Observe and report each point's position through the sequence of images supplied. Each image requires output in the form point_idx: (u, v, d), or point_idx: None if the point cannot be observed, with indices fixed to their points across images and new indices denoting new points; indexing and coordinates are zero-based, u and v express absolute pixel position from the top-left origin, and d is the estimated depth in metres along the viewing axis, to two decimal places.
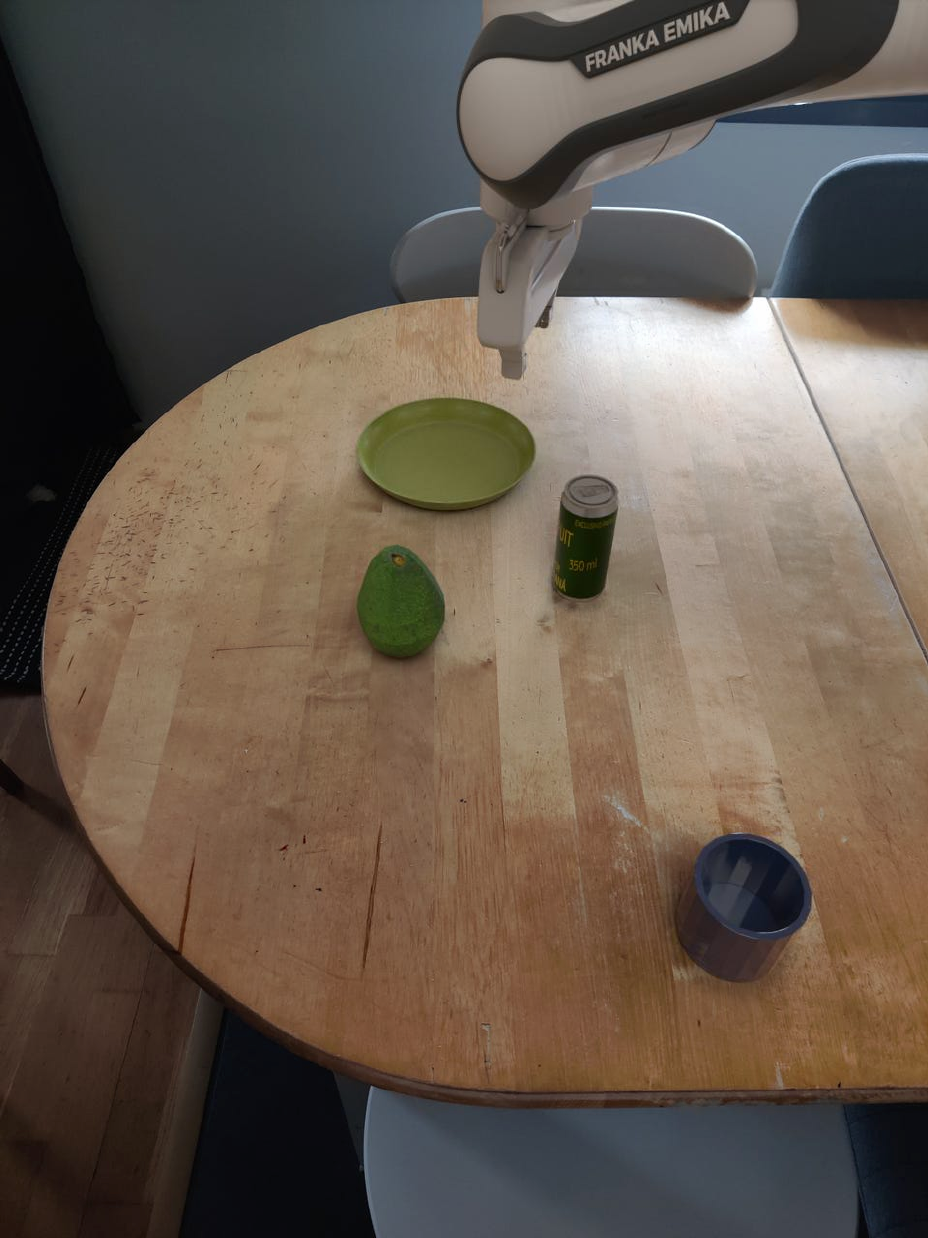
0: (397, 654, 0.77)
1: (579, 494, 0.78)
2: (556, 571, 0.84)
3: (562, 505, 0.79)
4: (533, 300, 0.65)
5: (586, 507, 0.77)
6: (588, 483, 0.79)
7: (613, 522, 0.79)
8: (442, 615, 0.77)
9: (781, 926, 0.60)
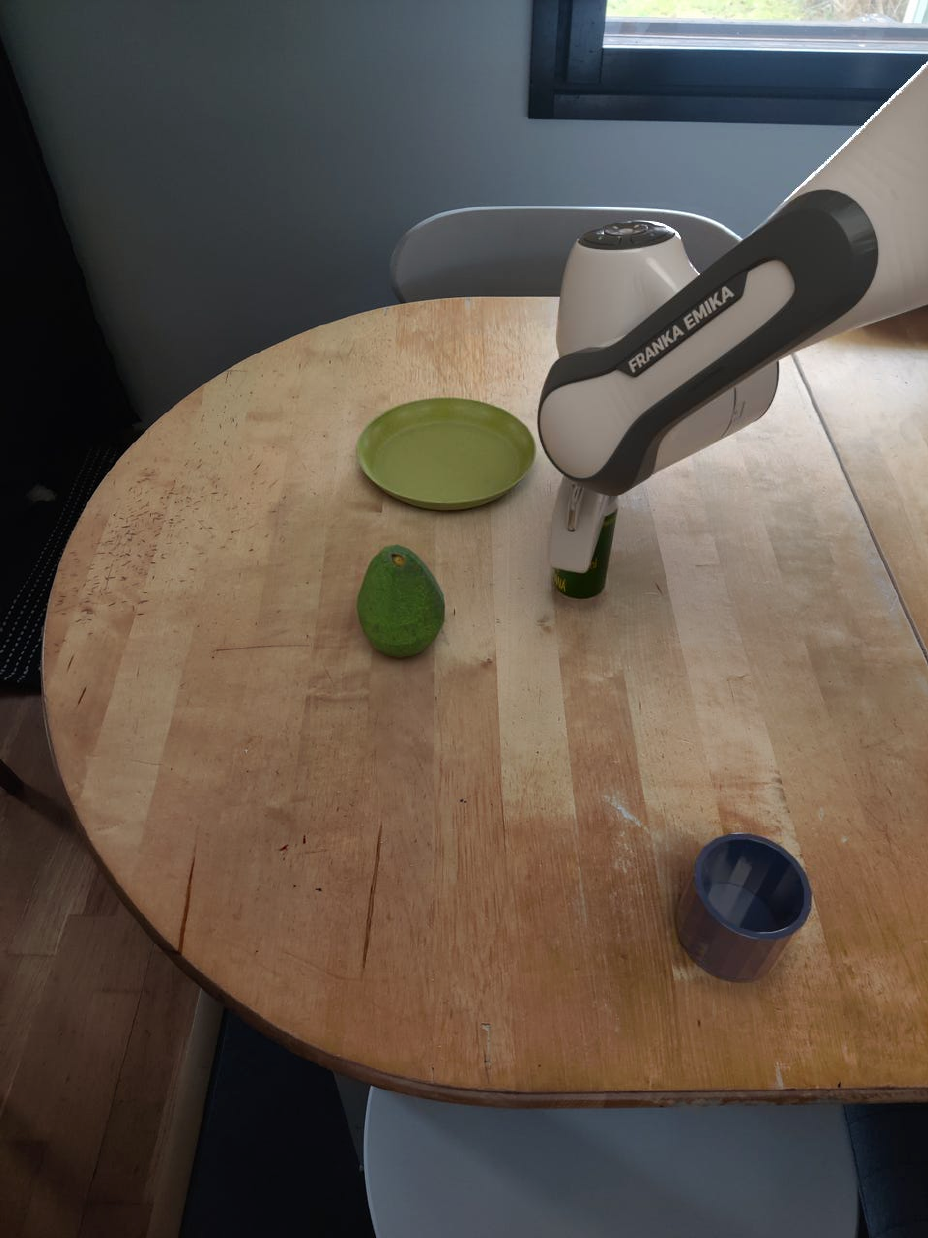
0: (397, 654, 0.77)
1: None
2: (556, 571, 0.84)
3: None
4: (597, 528, 0.73)
5: None
6: None
7: (613, 522, 0.79)
8: (442, 615, 0.77)
9: (781, 926, 0.60)
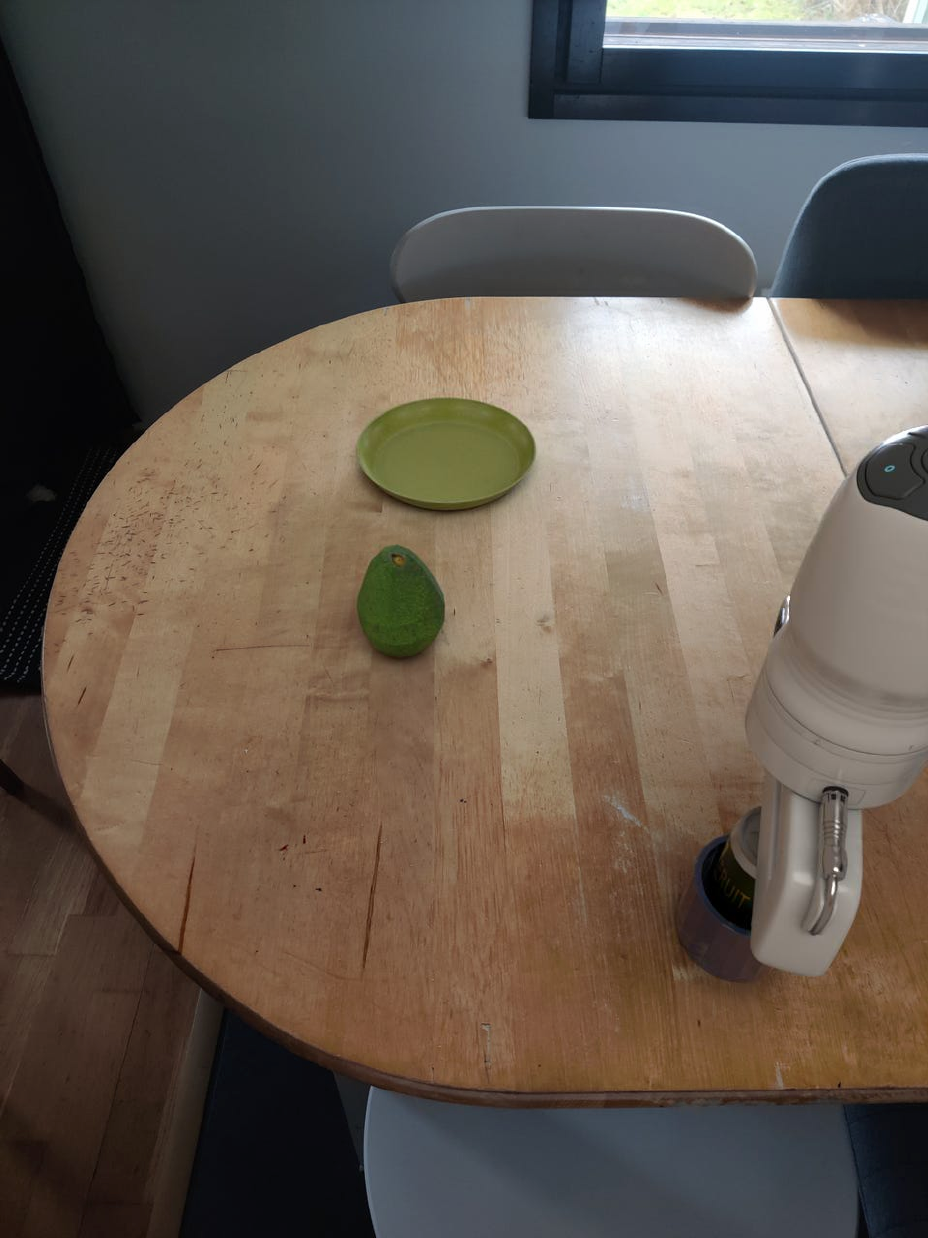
0: (397, 654, 0.77)
1: None
2: None
3: (735, 860, 0.53)
4: None
5: None
6: None
7: None
8: (442, 615, 0.77)
9: None
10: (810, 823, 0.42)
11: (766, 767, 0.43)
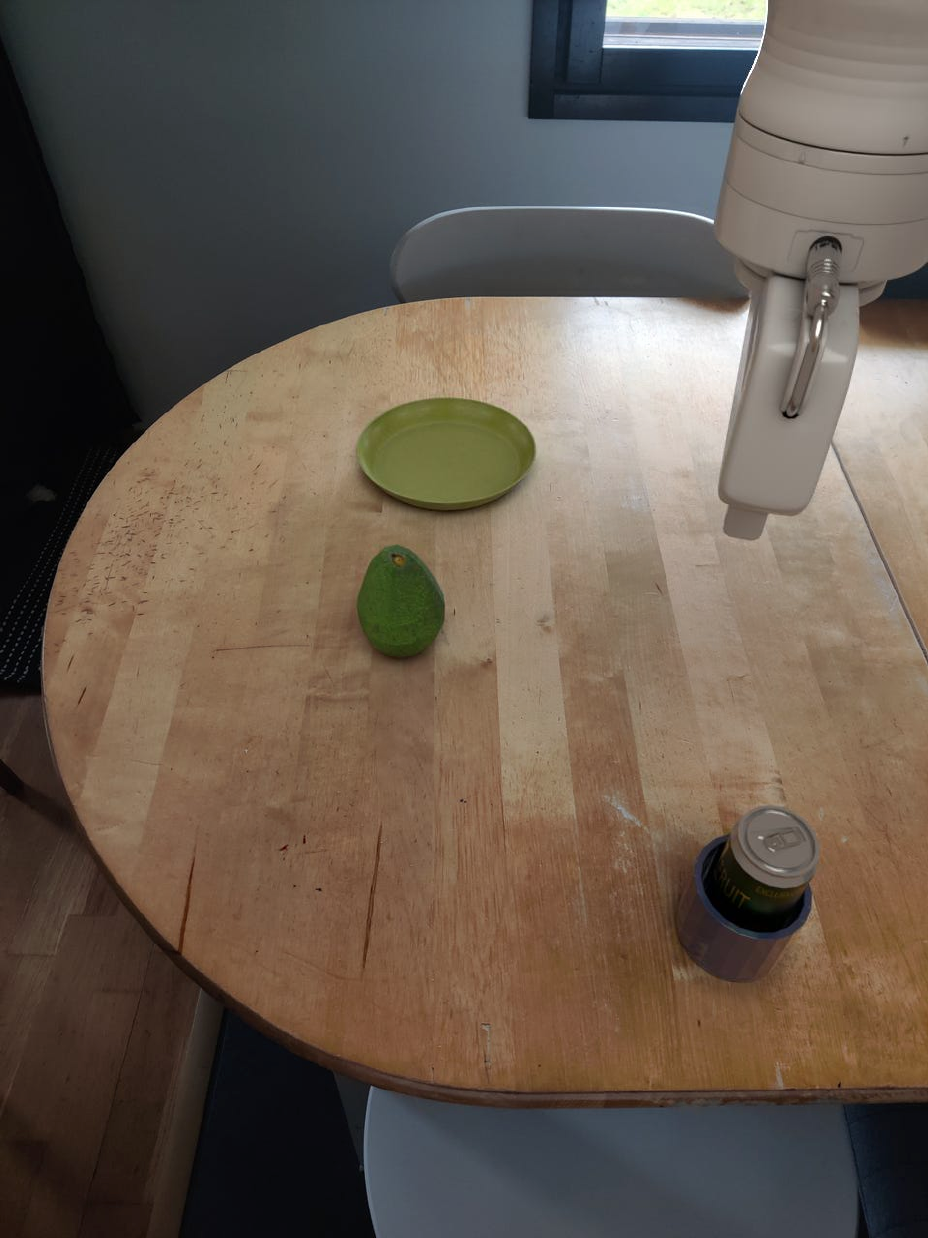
0: (397, 654, 0.77)
1: (761, 845, 0.53)
2: None
3: (735, 860, 0.53)
4: None
5: (777, 875, 0.51)
6: (771, 824, 0.54)
7: None
8: (442, 615, 0.77)
9: None
10: (792, 294, 0.33)
11: (738, 252, 0.34)
